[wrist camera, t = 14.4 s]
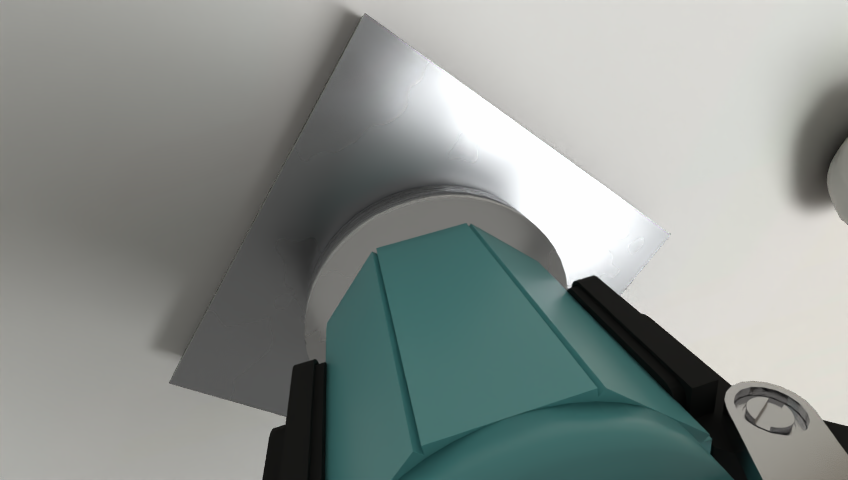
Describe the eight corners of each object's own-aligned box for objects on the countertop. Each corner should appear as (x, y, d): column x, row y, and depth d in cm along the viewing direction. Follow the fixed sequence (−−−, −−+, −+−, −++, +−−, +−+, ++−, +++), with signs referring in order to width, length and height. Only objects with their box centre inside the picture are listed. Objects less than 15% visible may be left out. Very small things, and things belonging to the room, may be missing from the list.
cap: (368, 434, 14) (398, 759, 7) (302, 268, 11) (263, 563, 5) (551, 375, 14) (724, 630, 8) (534, 204, 11) (780, 386, 5)
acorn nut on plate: (465, 446, 18) (548, 687, 11) (181, 357, 14) (29, 666, 7) (647, 221, 15) (909, 361, 8) (361, 16, 11) (415, -46, 4)
